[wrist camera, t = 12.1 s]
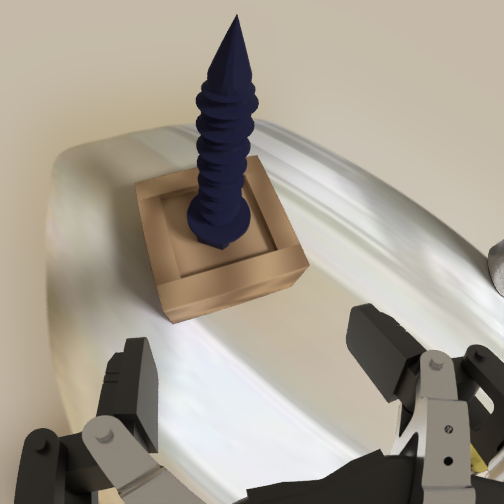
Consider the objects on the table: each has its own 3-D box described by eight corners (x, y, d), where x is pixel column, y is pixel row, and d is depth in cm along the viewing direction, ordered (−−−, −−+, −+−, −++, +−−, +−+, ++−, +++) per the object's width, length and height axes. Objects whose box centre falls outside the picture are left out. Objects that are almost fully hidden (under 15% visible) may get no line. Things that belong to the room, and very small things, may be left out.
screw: (177, 224, 24) (221, 193, 26) (214, 266, 23) (259, 231, 25) (150, 13, 8) (242, -5, 10) (228, 45, 7) (325, 28, 9)
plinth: (250, 189, 33) (257, 155, 27) (291, 286, 29) (309, 265, 23) (145, 215, 30) (134, 183, 24) (173, 324, 26) (162, 311, 20)
